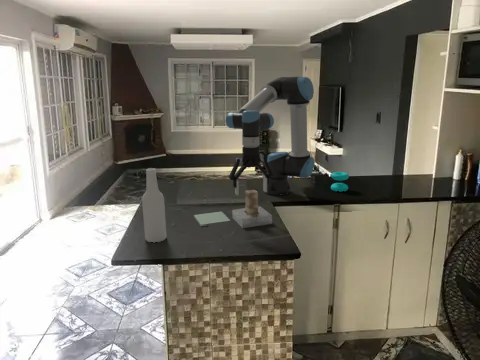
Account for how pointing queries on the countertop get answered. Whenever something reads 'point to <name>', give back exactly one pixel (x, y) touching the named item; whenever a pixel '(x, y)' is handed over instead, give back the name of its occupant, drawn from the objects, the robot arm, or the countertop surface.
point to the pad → (210, 218)
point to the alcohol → (153, 209)
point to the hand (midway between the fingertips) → (251, 193)
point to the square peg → (251, 202)
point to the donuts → (340, 176)
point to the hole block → (252, 217)
